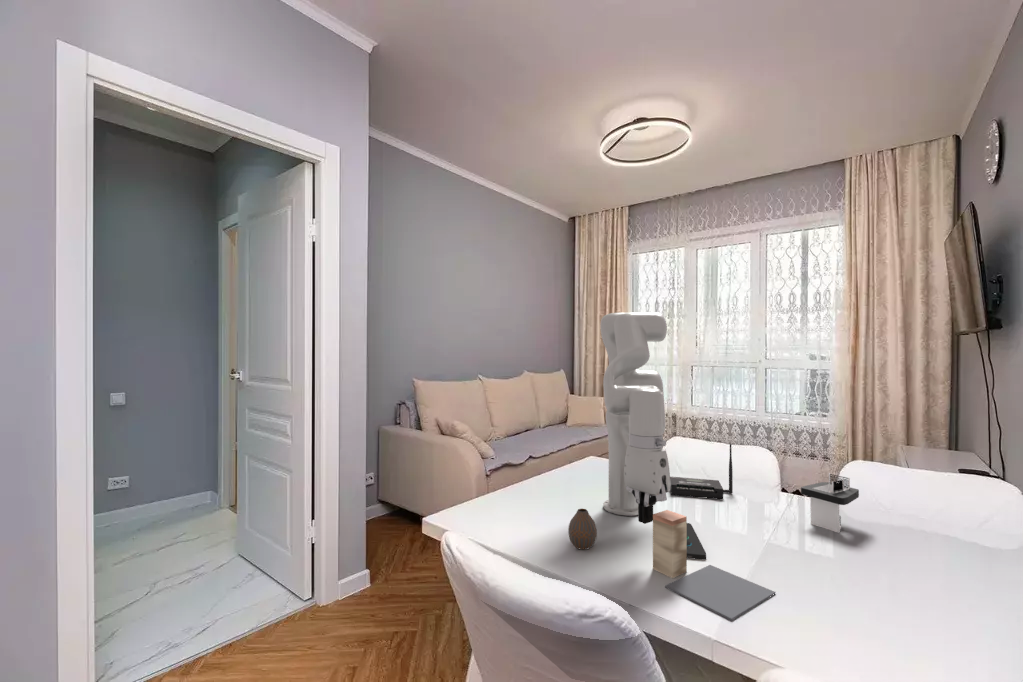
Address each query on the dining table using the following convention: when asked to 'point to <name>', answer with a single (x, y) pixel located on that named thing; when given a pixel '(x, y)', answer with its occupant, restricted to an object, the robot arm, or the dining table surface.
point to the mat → (720, 591)
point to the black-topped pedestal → (829, 501)
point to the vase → (582, 530)
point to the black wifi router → (701, 486)
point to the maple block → (670, 543)
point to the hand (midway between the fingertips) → (645, 521)
